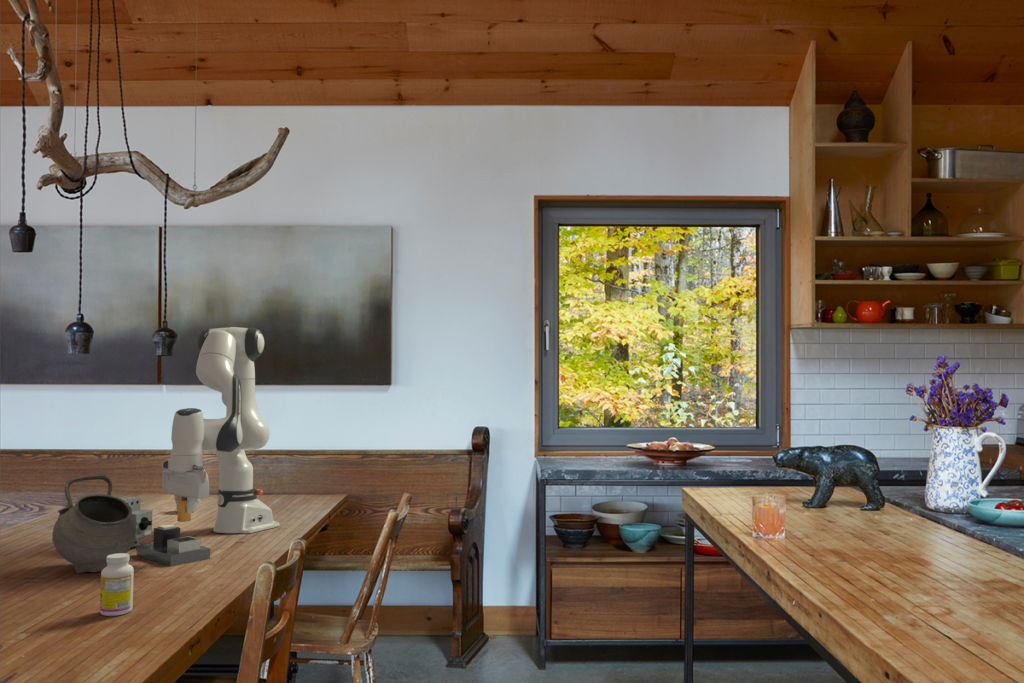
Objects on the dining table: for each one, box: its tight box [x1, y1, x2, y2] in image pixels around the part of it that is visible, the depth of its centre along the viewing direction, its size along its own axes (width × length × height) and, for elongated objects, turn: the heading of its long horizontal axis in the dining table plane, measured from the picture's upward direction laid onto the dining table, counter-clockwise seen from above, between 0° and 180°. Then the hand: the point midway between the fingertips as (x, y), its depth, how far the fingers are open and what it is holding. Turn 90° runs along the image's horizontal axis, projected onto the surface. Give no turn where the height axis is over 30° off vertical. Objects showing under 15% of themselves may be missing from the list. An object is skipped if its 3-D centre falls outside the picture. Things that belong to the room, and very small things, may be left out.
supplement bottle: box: [99, 552, 135, 617], centre depth 173 cm, size 7×7×13 cm
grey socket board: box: [136, 526, 211, 567], centre depth 226 cm, size 12×20×8 cm, turn 52°
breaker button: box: [157, 524, 177, 530], centre depth 228 cm, size 4×4×5 cm
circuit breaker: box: [117, 496, 153, 548], centre depth 237 cm, size 8×14×15 cm, turn 78°
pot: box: [51, 473, 136, 574], centre depth 213 cm, size 21×21×25 cm
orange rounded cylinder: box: [176, 496, 192, 523], centre depth 223 cm, size 4×4×7 cm
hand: (184, 511), depth 223 cm, fingers closed on orange rounded cylinder, 4 cm apart
